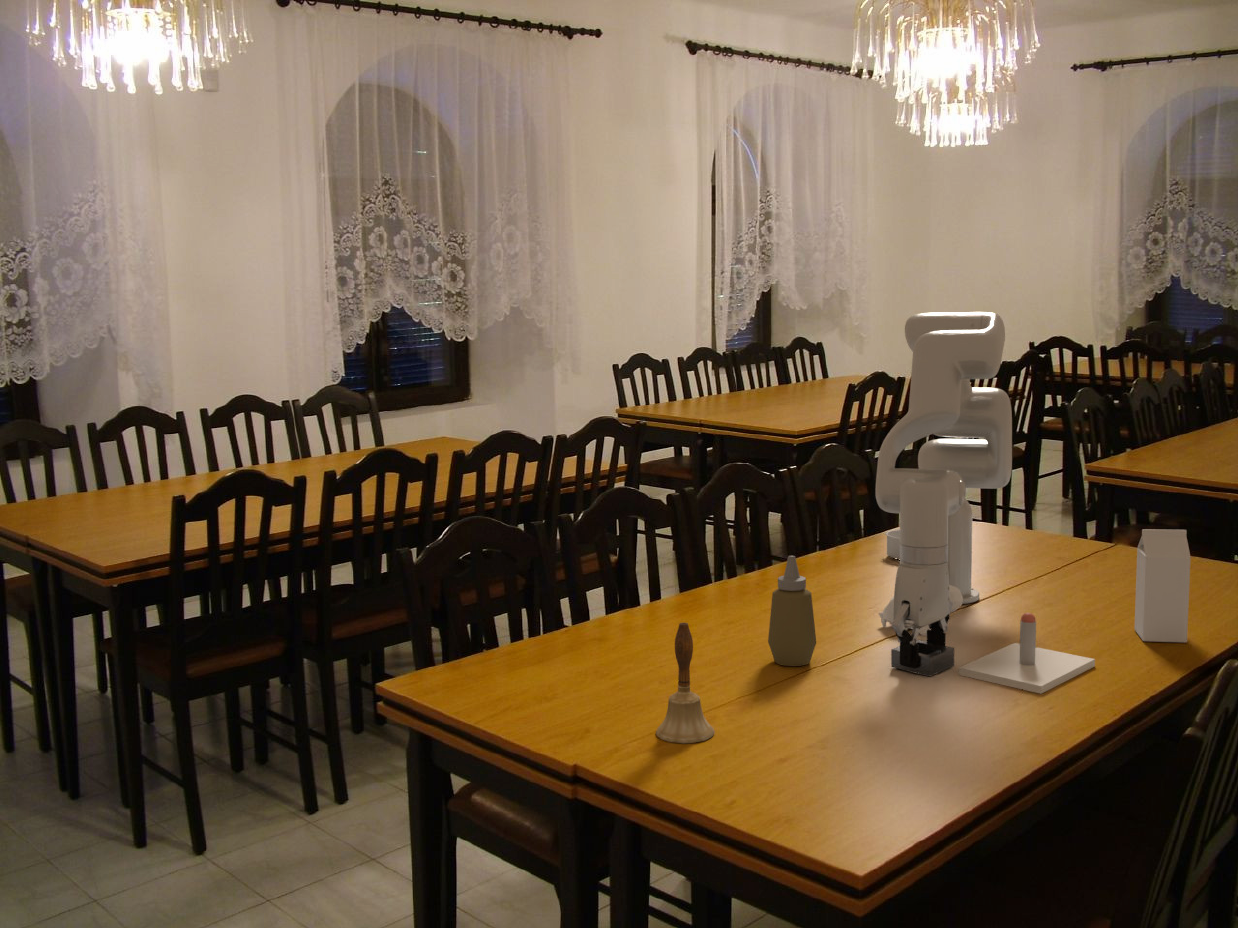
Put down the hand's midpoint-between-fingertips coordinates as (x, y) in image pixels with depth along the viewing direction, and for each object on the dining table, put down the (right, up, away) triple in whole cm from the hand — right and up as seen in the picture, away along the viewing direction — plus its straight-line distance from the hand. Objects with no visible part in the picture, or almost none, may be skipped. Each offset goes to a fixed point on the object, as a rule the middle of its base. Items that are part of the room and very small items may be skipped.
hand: (922, 659), depth 201 cm
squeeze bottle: (-20, -1, +5) cm, 21 cm away
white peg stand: (+16, -1, -3) cm, 16 cm away
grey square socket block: (0, -1, 0) cm, 1 cm away
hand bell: (-40, -7, -26) cm, 48 cm away
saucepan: (+20, +10, +76) cm, 79 cm away
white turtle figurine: (+6, +2, +23) cm, 24 cm away
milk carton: (+45, +2, +14) cm, 47 cm away
